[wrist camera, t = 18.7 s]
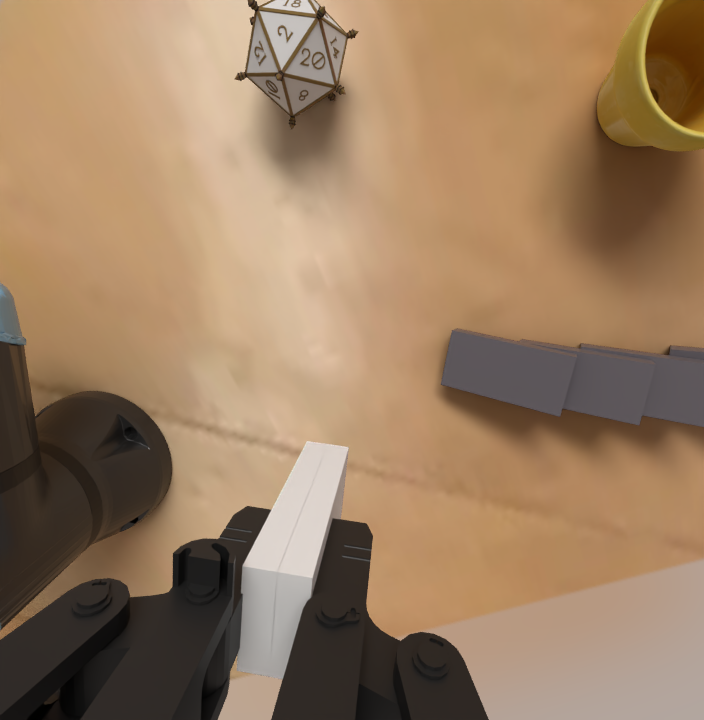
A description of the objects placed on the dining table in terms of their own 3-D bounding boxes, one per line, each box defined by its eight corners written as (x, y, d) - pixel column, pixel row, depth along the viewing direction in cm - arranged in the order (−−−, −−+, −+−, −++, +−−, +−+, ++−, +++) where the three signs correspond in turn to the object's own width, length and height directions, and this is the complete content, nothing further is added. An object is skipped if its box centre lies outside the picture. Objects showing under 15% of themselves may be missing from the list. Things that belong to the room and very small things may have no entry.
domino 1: (440, 384, 39) (559, 416, 35) (452, 330, 38) (576, 357, 34) (446, 380, 41) (560, 410, 37) (457, 328, 40) (576, 353, 36)
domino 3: (570, 401, 39) (709, 428, 35) (581, 346, 37) (726, 366, 33) (569, 396, 40) (702, 420, 36) (580, 343, 39) (718, 362, 35)
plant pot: (741, 98, 34) (874, 35, 24) (628, 199, 36) (709, 177, 27) (656, -5, 33) (758, -113, 24) (545, 105, 35) (598, 48, 26)
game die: (330, 75, 40) (391, -9, 31) (312, 160, 39) (370, 99, 30) (234, 18, 36) (273, -97, 27) (211, 112, 35) (243, 24, 26)
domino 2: (508, 396, 39) (639, 425, 35) (519, 341, 38) (655, 364, 33) (512, 391, 41) (637, 418, 36) (522, 339, 40) (652, 360, 35)
